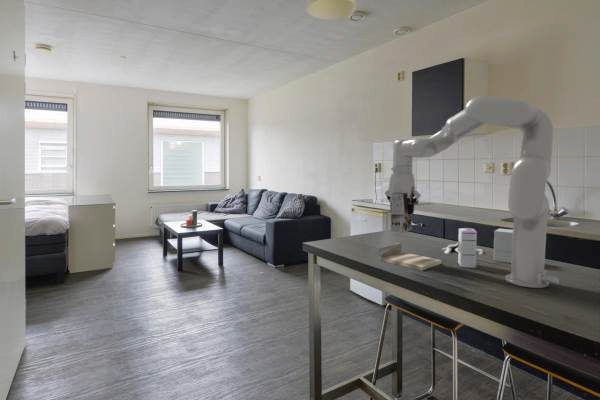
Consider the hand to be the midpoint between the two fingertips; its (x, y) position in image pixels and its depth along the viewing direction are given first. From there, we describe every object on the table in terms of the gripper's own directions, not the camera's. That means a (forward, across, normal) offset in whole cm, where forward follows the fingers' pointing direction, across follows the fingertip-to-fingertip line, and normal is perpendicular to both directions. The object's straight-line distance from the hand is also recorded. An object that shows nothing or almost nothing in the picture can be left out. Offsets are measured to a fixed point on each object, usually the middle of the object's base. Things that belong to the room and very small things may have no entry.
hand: (401, 212), depth 153 cm
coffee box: (+8, 0, 0) cm, 8 cm away
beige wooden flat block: (+20, +4, 0) cm, 20 cm away
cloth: (+21, +9, +32) cm, 39 cm away
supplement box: (+20, +29, +31) cm, 47 cm away
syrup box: (+20, +22, +12) cm, 32 cm away
